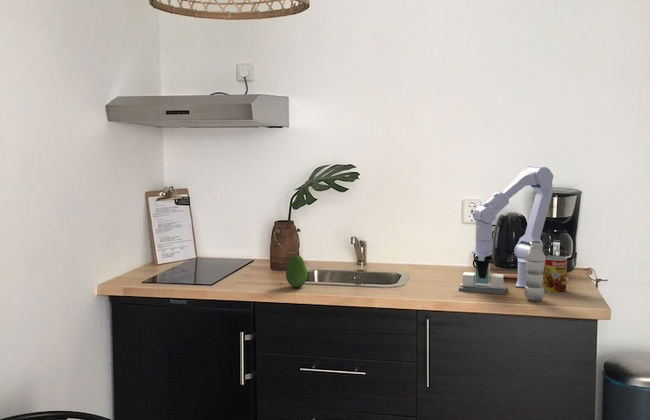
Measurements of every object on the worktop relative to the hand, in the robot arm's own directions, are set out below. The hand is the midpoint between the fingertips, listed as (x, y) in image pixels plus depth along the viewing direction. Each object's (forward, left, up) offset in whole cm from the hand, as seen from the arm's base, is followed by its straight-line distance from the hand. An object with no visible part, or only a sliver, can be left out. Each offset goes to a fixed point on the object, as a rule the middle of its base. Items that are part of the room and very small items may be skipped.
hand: (483, 276), depth 227 cm
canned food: (-24, -6, -5) cm, 25 cm away
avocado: (+66, +17, -5) cm, 68 cm away
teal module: (0, 0, -2) cm, 2 cm away
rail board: (0, 0, -5) cm, 5 cm away
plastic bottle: (-18, +10, -5) cm, 21 cm away
